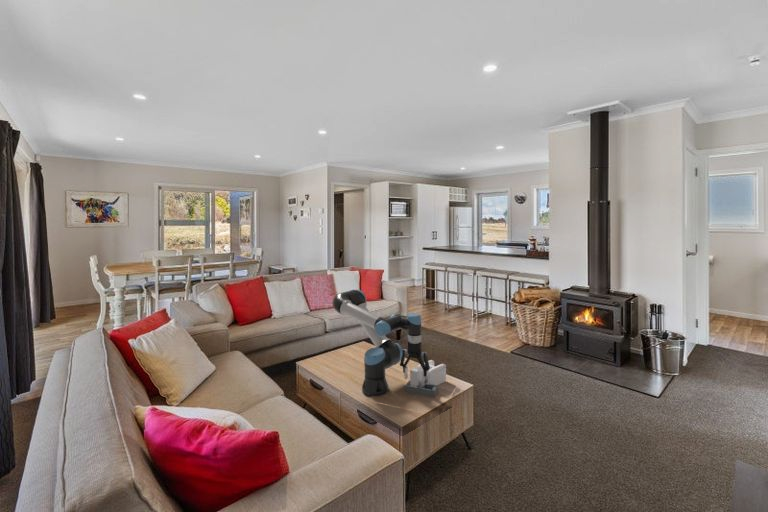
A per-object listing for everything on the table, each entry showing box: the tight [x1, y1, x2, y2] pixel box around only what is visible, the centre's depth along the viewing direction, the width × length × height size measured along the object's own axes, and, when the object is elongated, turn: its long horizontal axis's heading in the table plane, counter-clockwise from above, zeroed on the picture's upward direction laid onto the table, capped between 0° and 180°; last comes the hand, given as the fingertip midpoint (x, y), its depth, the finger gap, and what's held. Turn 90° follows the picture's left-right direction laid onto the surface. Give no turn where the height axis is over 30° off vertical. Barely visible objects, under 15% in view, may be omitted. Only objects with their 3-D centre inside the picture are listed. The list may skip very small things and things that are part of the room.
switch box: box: [404, 379, 439, 398], centre depth 207 cm, size 17×7×4 cm, turn 65°
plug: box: [409, 367, 419, 387], centre depth 208 cm, size 4×5×12 cm
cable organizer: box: [416, 359, 447, 386], centre depth 217 cm, size 15×11×12 cm
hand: (414, 379), depth 208 cm, fingers open, 10 cm apart
